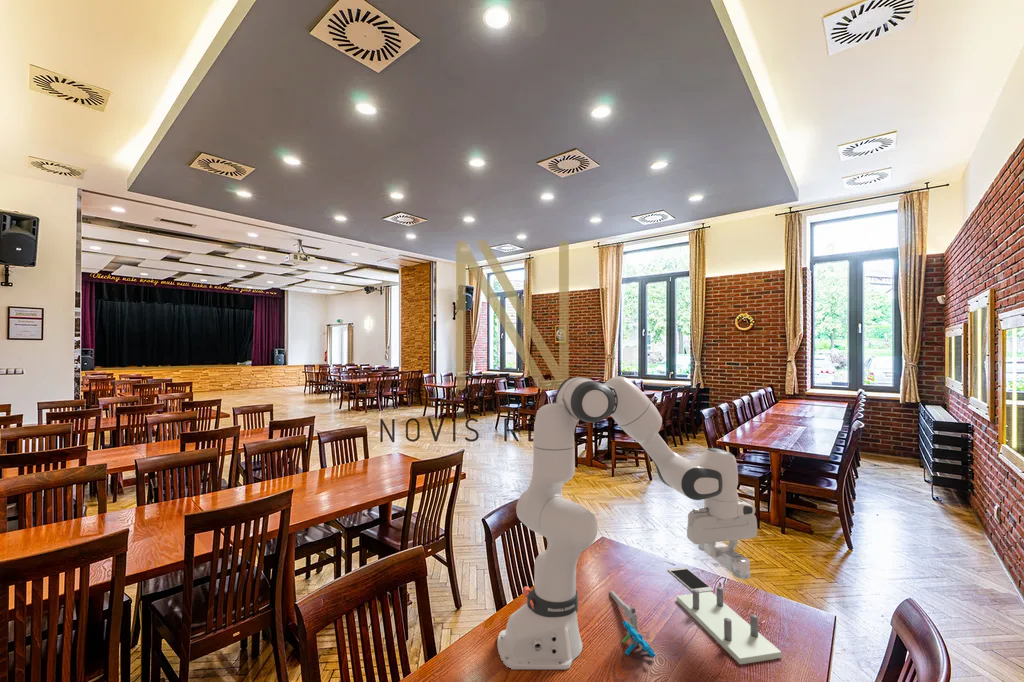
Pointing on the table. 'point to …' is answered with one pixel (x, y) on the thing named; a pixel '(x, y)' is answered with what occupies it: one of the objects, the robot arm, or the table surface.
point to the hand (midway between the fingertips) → (722, 555)
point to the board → (739, 629)
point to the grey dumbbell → (729, 559)
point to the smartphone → (690, 580)
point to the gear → (636, 640)
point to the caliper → (626, 609)
